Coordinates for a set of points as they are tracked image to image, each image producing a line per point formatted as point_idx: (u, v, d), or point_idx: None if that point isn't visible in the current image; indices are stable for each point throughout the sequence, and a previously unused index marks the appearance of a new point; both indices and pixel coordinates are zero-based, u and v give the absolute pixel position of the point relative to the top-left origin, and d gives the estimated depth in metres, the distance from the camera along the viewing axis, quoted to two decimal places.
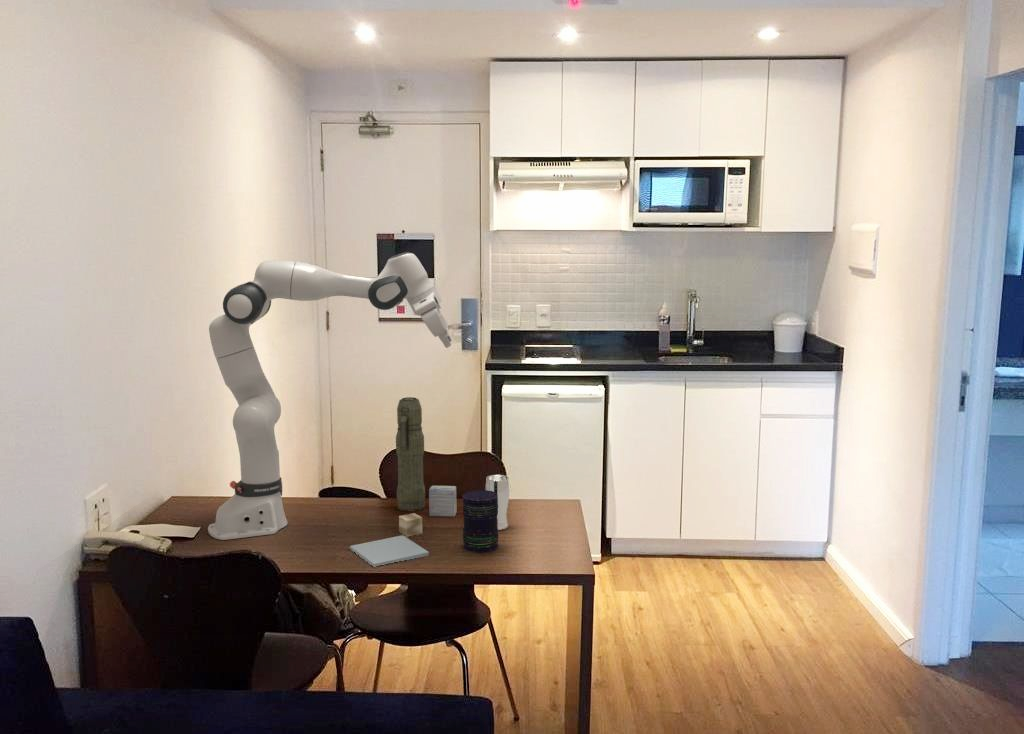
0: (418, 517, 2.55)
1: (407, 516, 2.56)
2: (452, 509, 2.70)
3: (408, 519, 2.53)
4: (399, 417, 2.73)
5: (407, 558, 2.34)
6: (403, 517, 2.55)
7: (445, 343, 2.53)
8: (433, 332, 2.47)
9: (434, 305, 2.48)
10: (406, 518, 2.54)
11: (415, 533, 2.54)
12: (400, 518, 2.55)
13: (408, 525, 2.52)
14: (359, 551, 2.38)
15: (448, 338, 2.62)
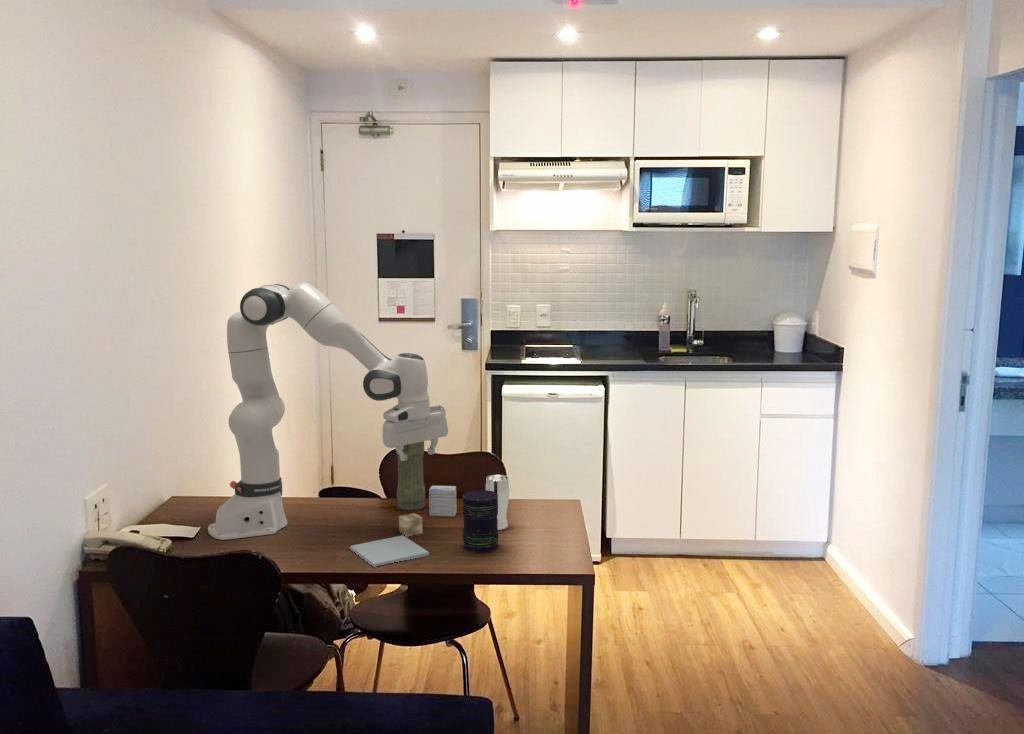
0: (418, 517, 2.55)
1: (407, 515, 2.56)
2: (452, 509, 2.70)
3: (408, 519, 2.53)
4: None
5: (407, 558, 2.34)
6: (403, 517, 2.55)
7: (400, 456, 2.50)
8: (383, 442, 2.47)
9: (393, 420, 2.44)
10: (406, 518, 2.54)
11: (415, 533, 2.54)
12: (400, 518, 2.55)
13: (408, 525, 2.52)
14: (359, 551, 2.38)
15: (429, 450, 2.55)
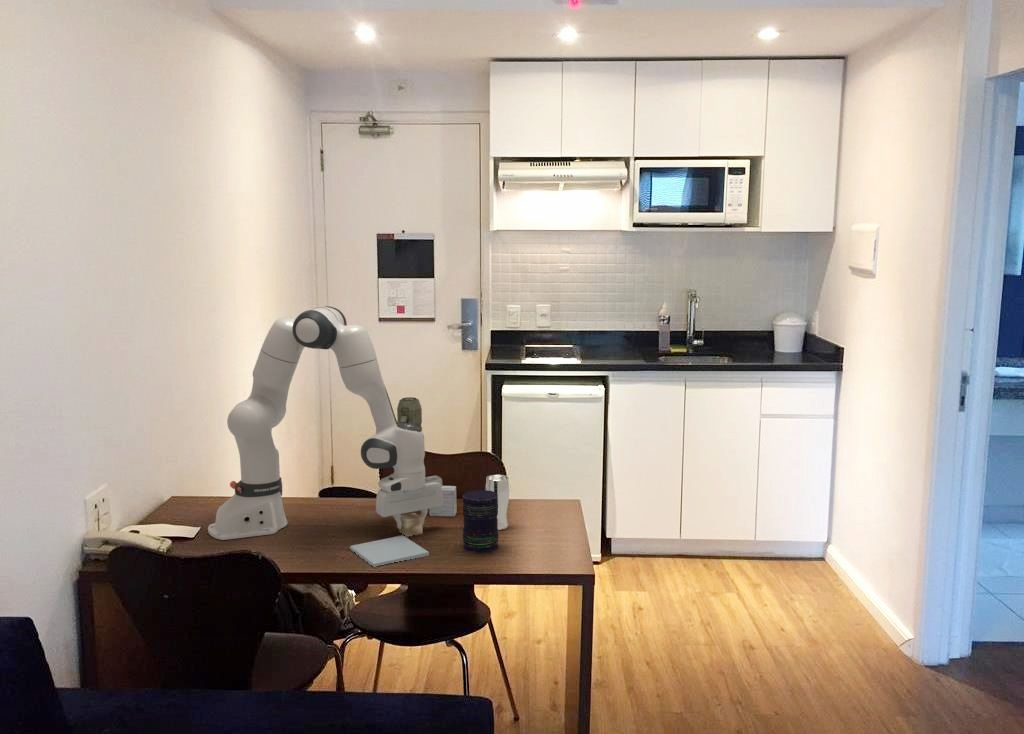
0: (418, 517, 2.55)
1: (407, 515, 2.56)
2: (452, 509, 2.70)
3: (408, 519, 2.53)
4: (399, 417, 2.73)
5: (407, 558, 2.34)
6: (403, 516, 2.55)
7: (397, 523, 2.53)
8: (376, 510, 2.50)
9: (386, 490, 2.47)
10: (406, 518, 2.54)
11: (415, 533, 2.54)
12: (400, 518, 2.55)
13: (408, 525, 2.52)
14: (359, 551, 2.38)
15: None
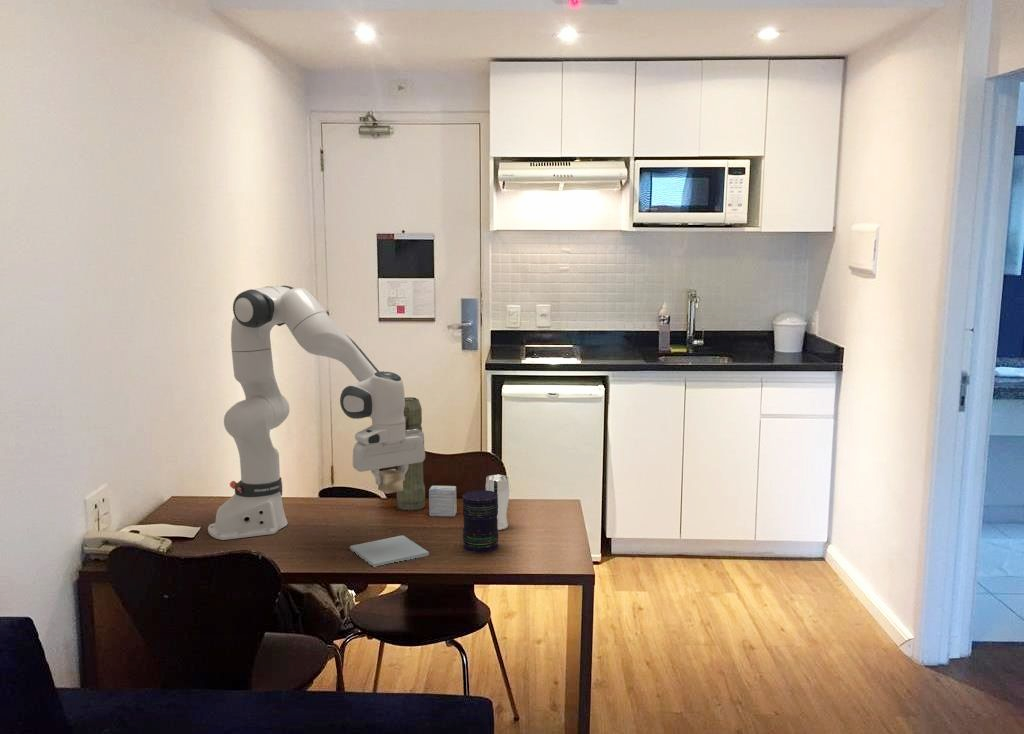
0: (398, 472, 2.38)
1: (386, 471, 2.39)
2: (452, 509, 2.70)
3: (387, 474, 2.36)
4: None
5: (407, 558, 2.34)
6: (383, 472, 2.38)
7: (376, 479, 2.37)
8: (353, 465, 2.34)
9: (363, 443, 2.30)
10: (385, 473, 2.37)
11: (395, 489, 2.37)
12: (379, 473, 2.38)
13: (387, 480, 2.35)
14: (359, 551, 2.38)
15: None
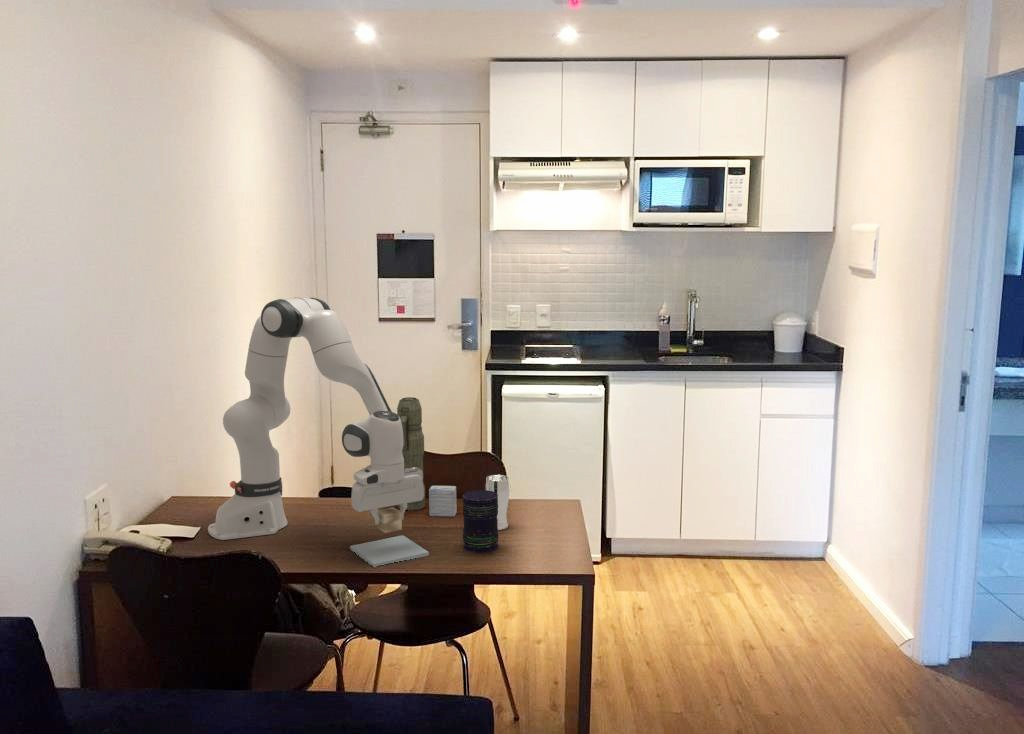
0: (397, 511, 2.38)
1: (385, 510, 2.39)
2: (452, 509, 2.70)
3: (386, 514, 2.36)
4: None
5: (407, 558, 2.34)
6: (381, 511, 2.38)
7: (375, 518, 2.37)
8: None
9: (362, 483, 2.31)
10: (384, 512, 2.37)
11: (394, 528, 2.37)
12: (378, 512, 2.38)
13: (386, 520, 2.35)
14: (359, 551, 2.38)
15: None
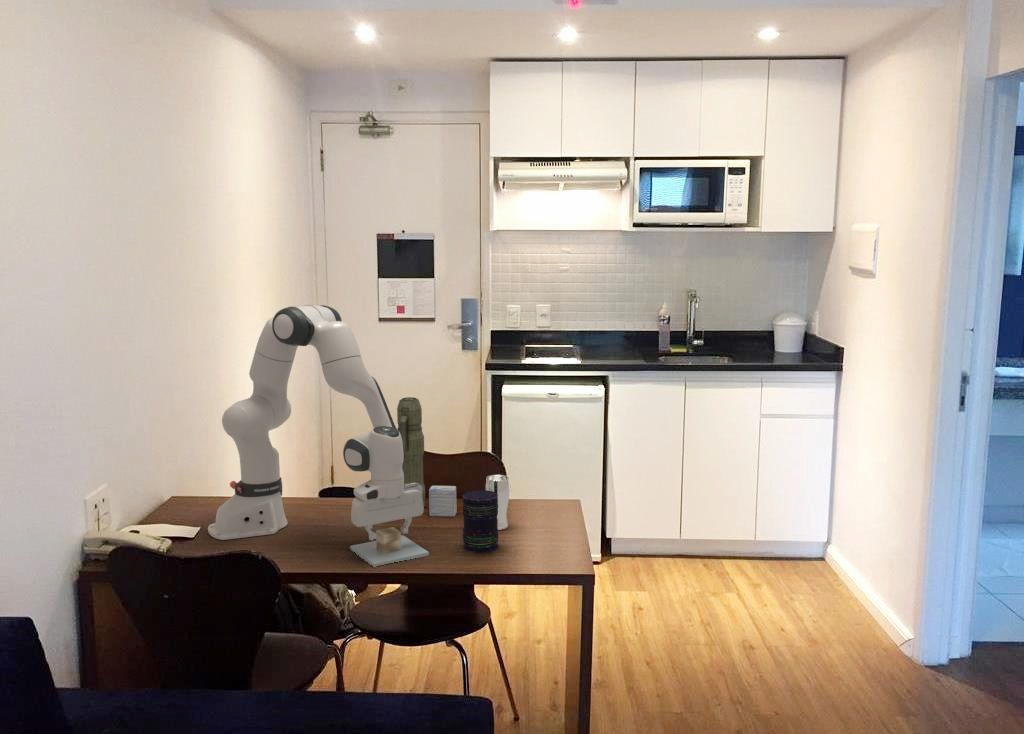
0: (396, 531, 2.39)
1: (385, 530, 2.40)
2: (452, 509, 2.70)
3: (385, 534, 2.37)
4: (399, 417, 2.73)
5: (407, 558, 2.34)
6: (381, 531, 2.39)
7: (369, 534, 2.37)
8: (351, 520, 2.34)
9: (361, 498, 2.31)
10: (384, 533, 2.38)
11: (393, 549, 2.38)
12: (377, 533, 2.39)
13: (385, 540, 2.36)
14: (359, 551, 2.38)
15: (402, 529, 2.41)
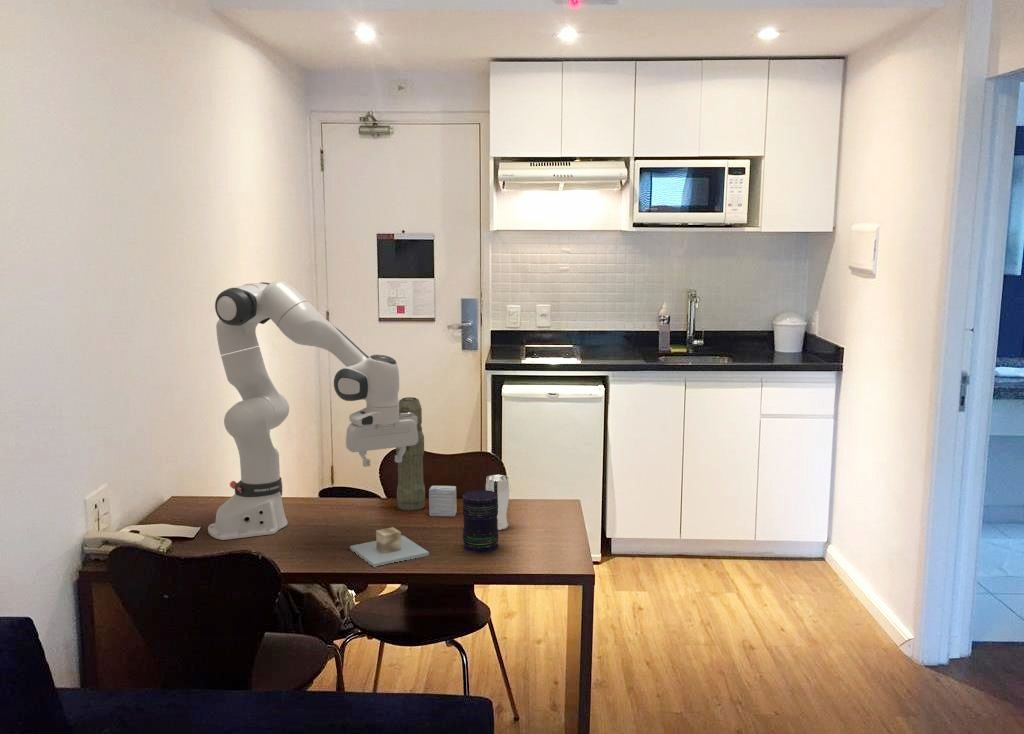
0: (396, 531, 2.39)
1: (385, 530, 2.40)
2: (452, 509, 2.70)
3: (385, 534, 2.37)
4: None
5: (407, 558, 2.34)
6: (381, 531, 2.39)
7: (363, 461, 2.40)
8: (346, 445, 2.38)
9: (356, 424, 2.34)
10: (384, 533, 2.38)
11: (393, 549, 2.38)
12: (377, 533, 2.39)
13: (385, 540, 2.36)
14: (359, 551, 2.38)
15: (396, 458, 2.44)
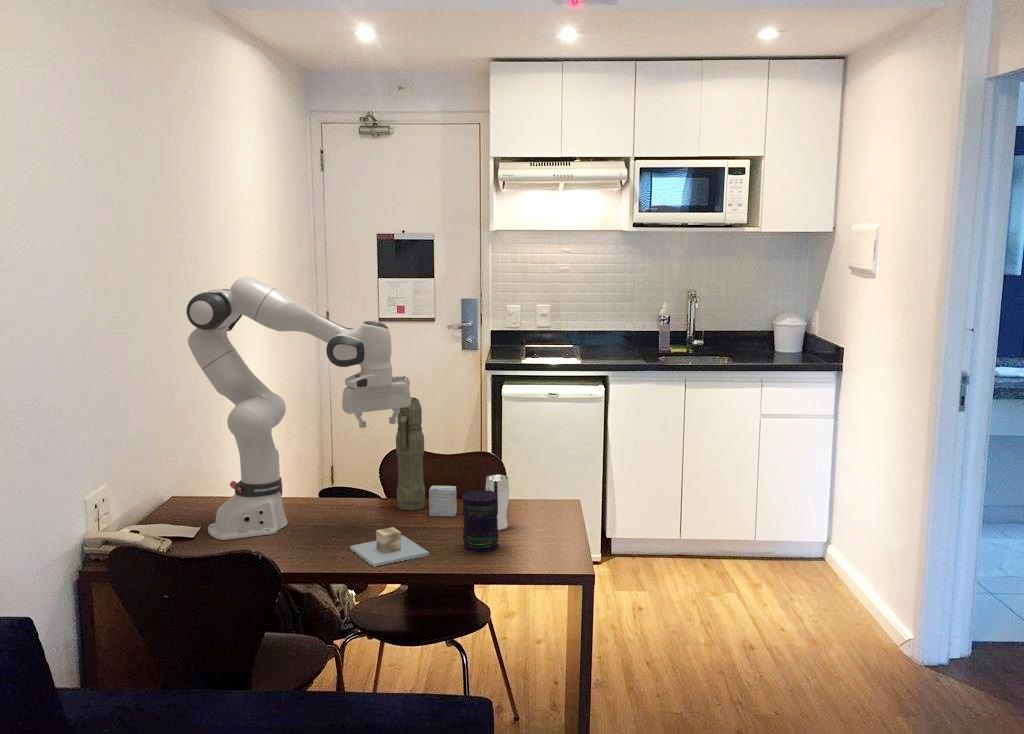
0: (396, 531, 2.39)
1: (385, 530, 2.40)
2: (452, 509, 2.70)
3: (385, 534, 2.37)
4: (399, 417, 2.73)
5: (407, 558, 2.34)
6: (381, 531, 2.39)
7: (359, 422, 2.52)
8: (342, 408, 2.49)
9: (352, 386, 2.46)
10: (384, 533, 2.38)
11: (393, 549, 2.38)
12: (377, 533, 2.39)
13: (385, 540, 2.36)
14: (359, 551, 2.38)
15: (390, 420, 2.56)
